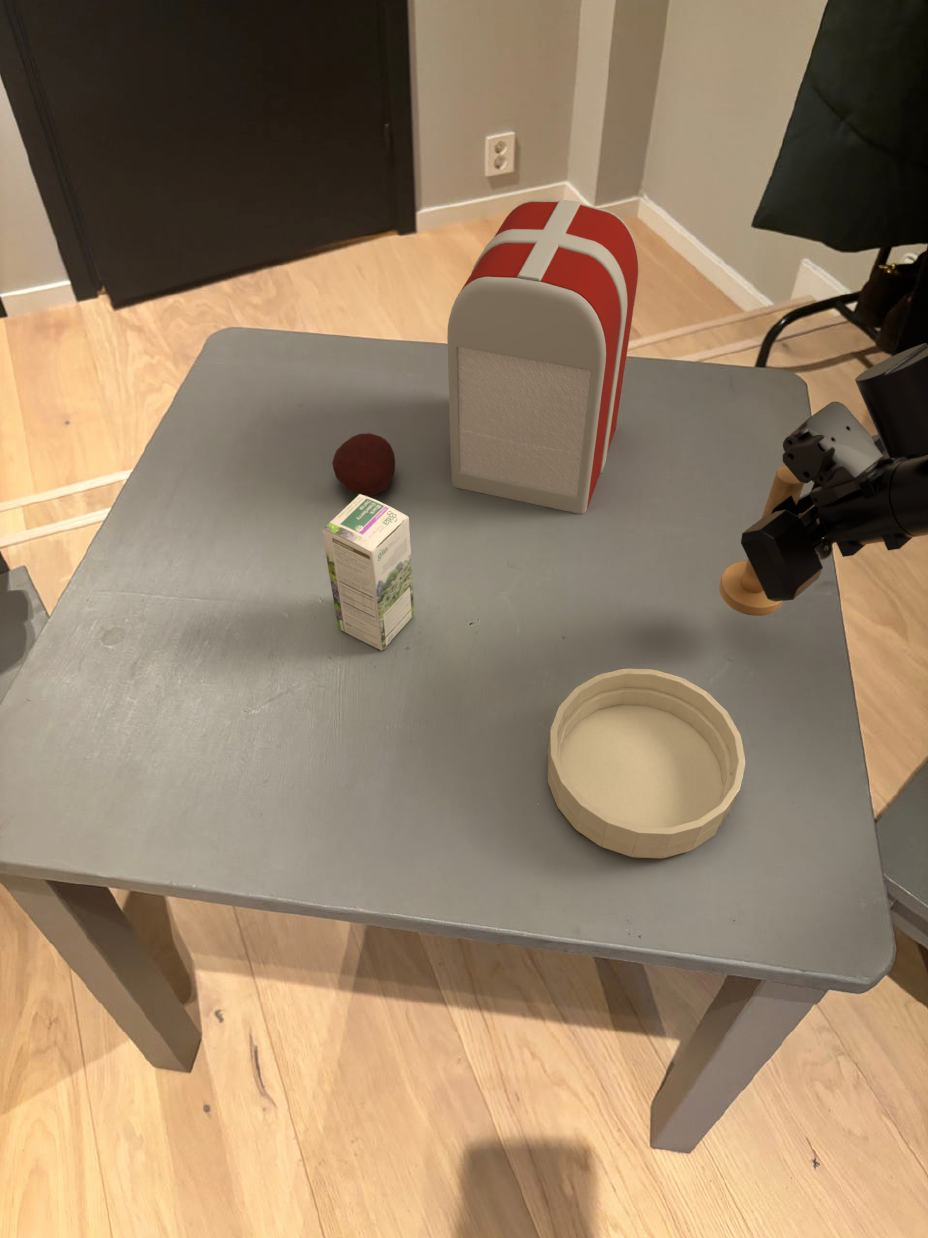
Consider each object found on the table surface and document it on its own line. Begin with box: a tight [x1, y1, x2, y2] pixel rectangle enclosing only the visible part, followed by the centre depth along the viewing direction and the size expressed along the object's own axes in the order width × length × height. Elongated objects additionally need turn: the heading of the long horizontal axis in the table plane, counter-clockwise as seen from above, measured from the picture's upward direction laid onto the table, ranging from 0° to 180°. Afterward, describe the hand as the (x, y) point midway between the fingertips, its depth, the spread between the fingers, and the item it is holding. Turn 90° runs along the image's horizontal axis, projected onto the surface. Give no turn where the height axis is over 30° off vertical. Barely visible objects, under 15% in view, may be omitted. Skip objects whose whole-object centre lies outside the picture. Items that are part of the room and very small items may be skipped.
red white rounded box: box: [446, 198, 640, 515], centre depth 98 cm, size 17×18×27 cm
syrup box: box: [321, 494, 415, 652], centre depth 86 cm, size 6×6×14 cm
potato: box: [331, 432, 396, 497], centre depth 103 cm, size 7×8×6 cm
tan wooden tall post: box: [718, 464, 805, 617], centre depth 80 cm, size 6×6×15 cm
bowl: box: [546, 668, 747, 859], centre depth 78 cm, size 16×16×5 cm
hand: (757, 528), depth 80 cm, fingers closed on tan wooden tall post, 2 cm apart
